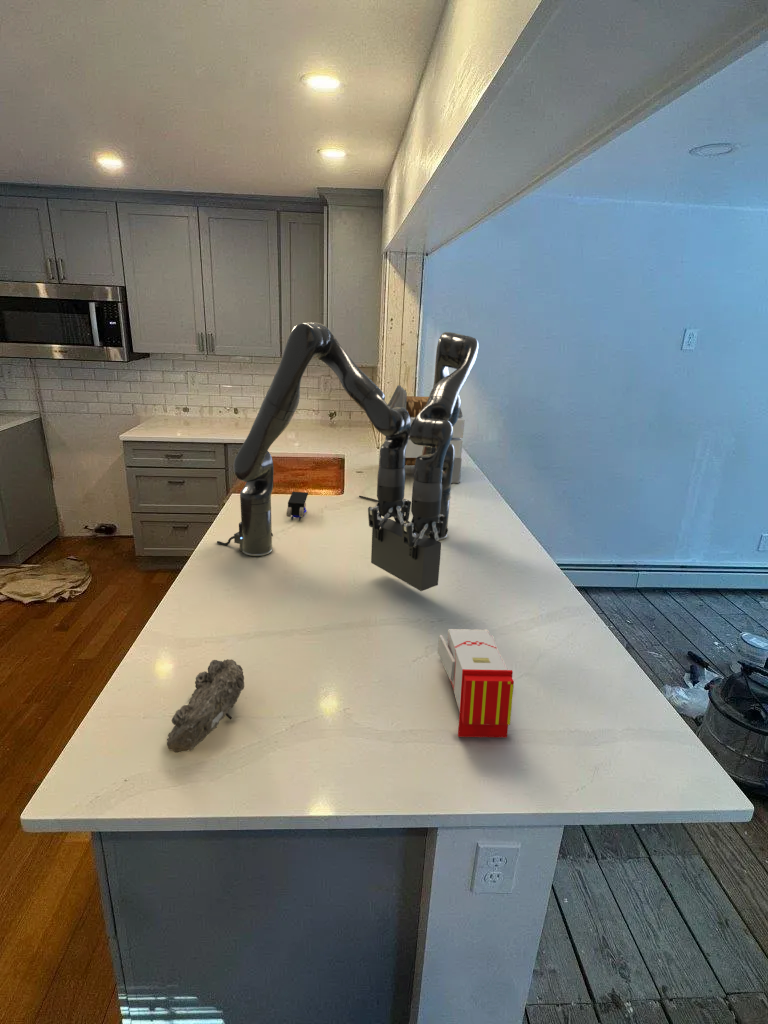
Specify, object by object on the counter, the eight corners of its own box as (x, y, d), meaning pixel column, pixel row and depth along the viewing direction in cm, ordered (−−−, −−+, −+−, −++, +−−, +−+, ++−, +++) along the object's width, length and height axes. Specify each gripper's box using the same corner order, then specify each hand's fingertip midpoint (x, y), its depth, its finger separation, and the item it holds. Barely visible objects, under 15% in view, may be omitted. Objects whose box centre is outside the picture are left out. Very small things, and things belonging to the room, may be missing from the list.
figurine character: (304, 526, 206) (308, 508, 220) (304, 507, 203) (308, 490, 216) (286, 525, 206) (291, 507, 219) (285, 507, 203) (290, 489, 216)
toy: (488, 613, 130) (523, 677, 101) (484, 667, 133) (517, 744, 104) (435, 612, 130) (455, 676, 101) (432, 666, 133) (451, 743, 103)
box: (438, 585, 152) (441, 542, 148) (421, 591, 149) (424, 547, 144) (387, 557, 168) (389, 518, 163) (370, 562, 164) (372, 522, 160)
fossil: (192, 660, 117) (244, 628, 112) (224, 691, 120) (276, 661, 115) (142, 746, 98) (202, 712, 93) (182, 779, 101) (242, 748, 96)
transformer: (382, 463, 289) (386, 382, 275) (445, 464, 293) (451, 384, 279) (390, 482, 257) (394, 392, 243) (460, 483, 261) (468, 394, 247)
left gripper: (401, 474, 162) (398, 529, 167) (361, 482, 153) (360, 539, 159) (419, 481, 156) (416, 537, 162) (379, 489, 148) (376, 548, 153)
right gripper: (436, 487, 152) (432, 545, 157) (395, 497, 143) (392, 557, 149) (456, 495, 146) (451, 554, 152) (415, 505, 138) (411, 567, 143)
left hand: (388, 538), depth 160 cm, fingers closed on box, 6 cm apart
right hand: (422, 555), depth 150 cm, fingers closed on box, 6 cm apart
